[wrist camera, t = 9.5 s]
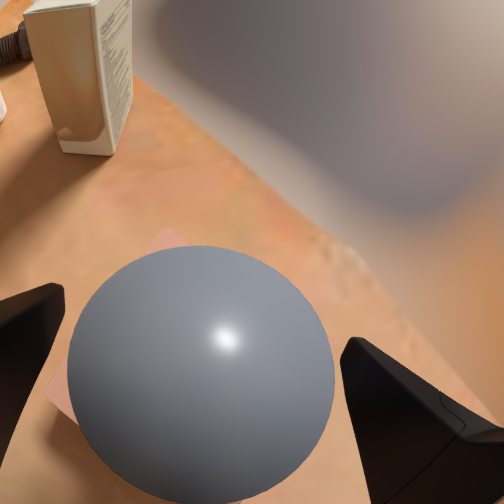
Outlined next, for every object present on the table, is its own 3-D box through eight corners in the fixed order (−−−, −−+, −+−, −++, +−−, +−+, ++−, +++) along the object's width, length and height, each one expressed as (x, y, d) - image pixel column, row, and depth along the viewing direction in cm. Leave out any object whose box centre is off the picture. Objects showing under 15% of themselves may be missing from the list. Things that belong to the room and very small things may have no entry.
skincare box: (87, 98, 22) (73, -31, 11) (135, 100, 23) (137, -36, 12) (59, 157, 19) (17, 12, 8) (113, 160, 20) (94, 2, 9)
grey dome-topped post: (179, 434, 14) (174, 544, 4) (129, 361, 15) (25, 325, 4) (249, 387, 16) (377, 399, 5) (201, 317, 17) (237, 204, 6)
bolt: (70, 55, 26) (-44, 106, 20) (65, 23, 25) (-46, 71, 19) (70, 28, 21) (-62, 88, 15) (65, -5, 20) (-61, 51, 14)
